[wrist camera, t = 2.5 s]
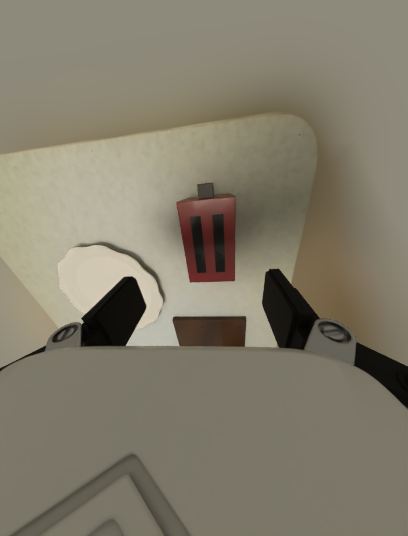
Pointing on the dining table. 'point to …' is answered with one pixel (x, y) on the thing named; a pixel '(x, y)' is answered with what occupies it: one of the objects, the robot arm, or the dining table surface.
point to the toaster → (208, 235)
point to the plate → (105, 279)
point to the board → (210, 331)
